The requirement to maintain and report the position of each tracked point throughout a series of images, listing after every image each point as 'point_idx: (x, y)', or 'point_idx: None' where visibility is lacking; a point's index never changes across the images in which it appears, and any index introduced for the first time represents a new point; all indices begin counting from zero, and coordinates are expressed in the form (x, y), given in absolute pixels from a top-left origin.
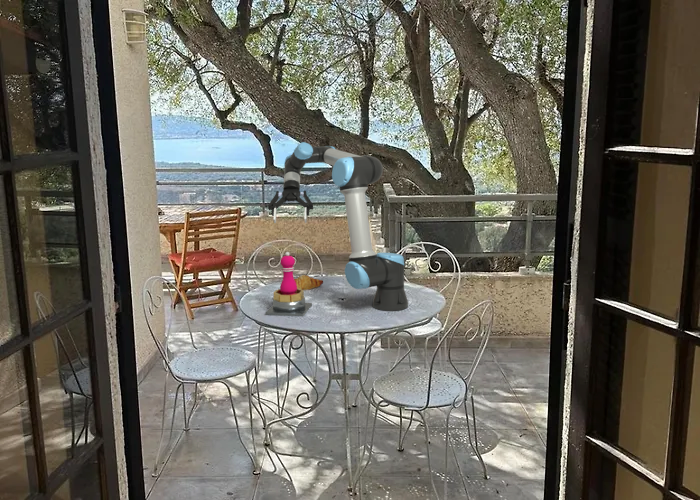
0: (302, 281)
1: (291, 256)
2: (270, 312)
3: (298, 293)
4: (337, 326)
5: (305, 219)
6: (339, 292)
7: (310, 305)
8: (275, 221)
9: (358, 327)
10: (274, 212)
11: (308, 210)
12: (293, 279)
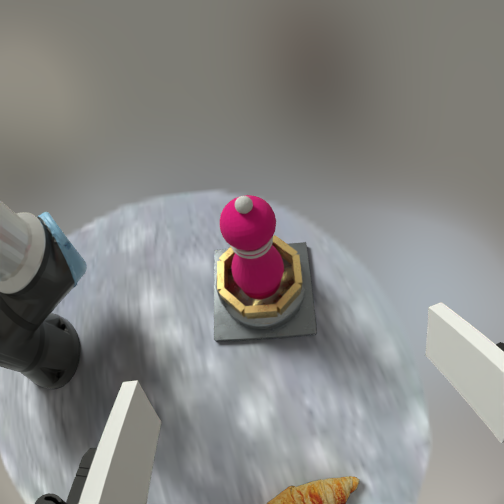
0: (288, 499)
1: (228, 213)
2: (293, 243)
3: (224, 258)
4: (141, 212)
5: (132, 387)
6: (171, 478)
7: (214, 324)
8: (427, 335)
9: (109, 216)
10: (490, 346)
11: (78, 483)
12: (236, 254)
